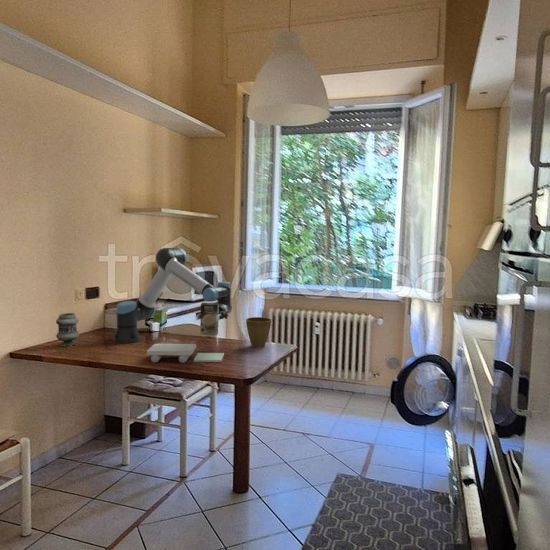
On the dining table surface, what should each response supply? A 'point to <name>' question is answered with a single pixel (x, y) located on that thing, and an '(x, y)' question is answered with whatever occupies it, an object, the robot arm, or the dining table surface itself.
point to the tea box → (160, 316)
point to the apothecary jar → (67, 328)
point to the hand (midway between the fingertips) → (206, 318)
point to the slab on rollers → (171, 351)
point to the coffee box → (209, 319)
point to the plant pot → (258, 330)
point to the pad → (209, 357)
